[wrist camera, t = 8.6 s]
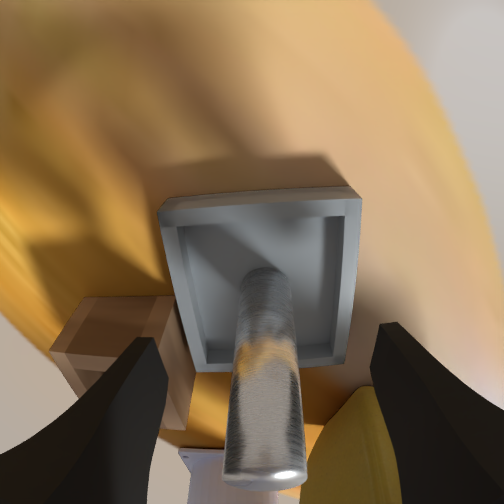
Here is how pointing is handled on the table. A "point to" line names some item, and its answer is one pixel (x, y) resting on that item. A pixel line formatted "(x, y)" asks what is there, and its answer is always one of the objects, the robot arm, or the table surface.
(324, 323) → the tray
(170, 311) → the walnut block
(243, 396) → the cylinder
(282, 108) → the table surface
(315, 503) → the flower pot
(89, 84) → the table surface
